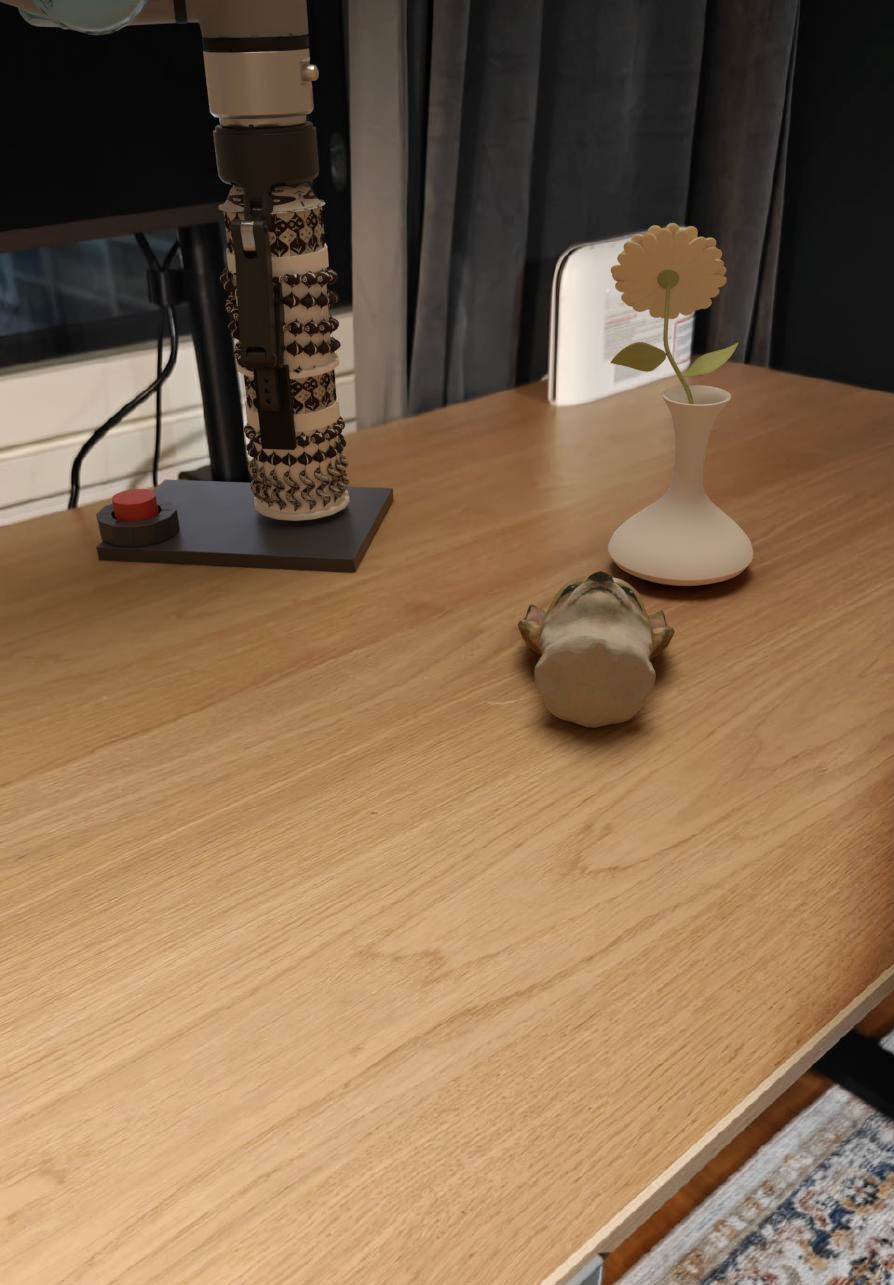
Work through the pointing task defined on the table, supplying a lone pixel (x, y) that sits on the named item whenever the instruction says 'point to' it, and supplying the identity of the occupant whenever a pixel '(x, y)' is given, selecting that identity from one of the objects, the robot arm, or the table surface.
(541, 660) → the ceramic sculpture
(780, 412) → the table surface
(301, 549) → the dark grey base plate
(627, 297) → the flower in vase
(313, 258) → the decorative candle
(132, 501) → the button
